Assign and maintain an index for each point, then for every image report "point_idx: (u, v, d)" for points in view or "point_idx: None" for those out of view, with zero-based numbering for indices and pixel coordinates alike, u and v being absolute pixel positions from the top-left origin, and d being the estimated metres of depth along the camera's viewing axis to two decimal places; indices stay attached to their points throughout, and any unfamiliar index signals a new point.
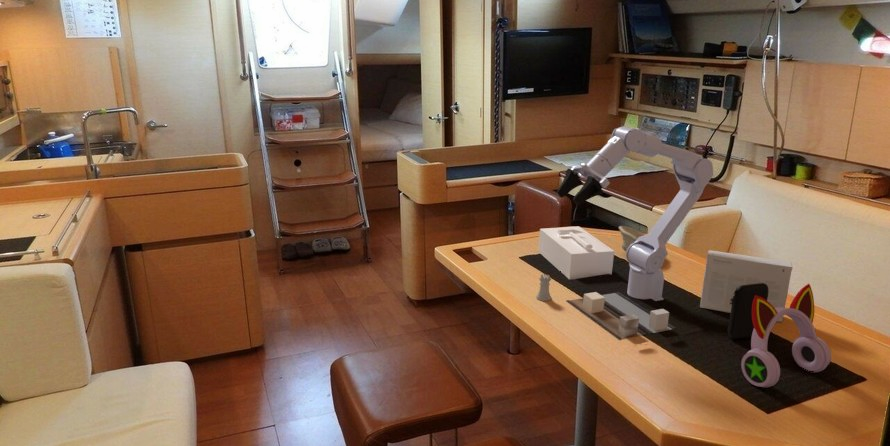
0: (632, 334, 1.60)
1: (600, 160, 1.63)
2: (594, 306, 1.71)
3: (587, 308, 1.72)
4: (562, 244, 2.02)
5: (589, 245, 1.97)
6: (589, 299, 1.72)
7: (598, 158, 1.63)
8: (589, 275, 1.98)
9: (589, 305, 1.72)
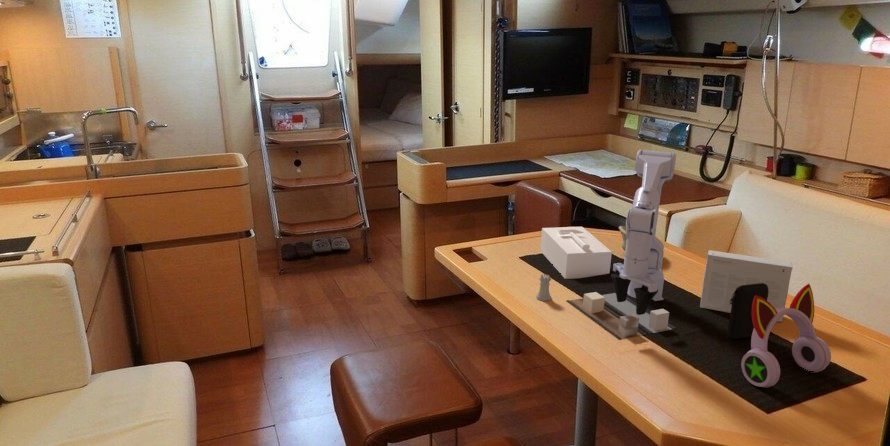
0: (632, 334, 1.60)
1: (633, 263, 1.52)
2: (594, 306, 1.71)
3: (587, 308, 1.72)
4: (560, 243, 2.03)
5: (586, 245, 1.97)
6: (589, 299, 1.72)
7: (630, 262, 1.53)
8: (586, 275, 1.98)
9: (589, 305, 1.72)
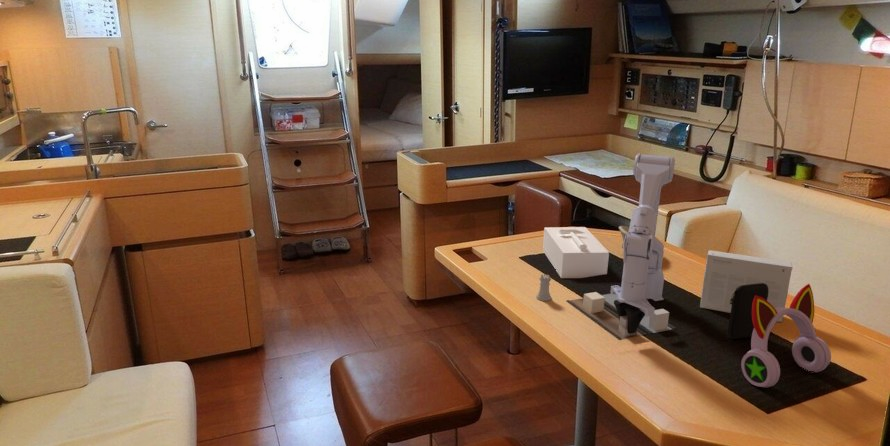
0: (632, 334, 1.60)
1: (630, 287, 1.54)
2: (594, 306, 1.71)
3: (587, 308, 1.72)
4: (559, 243, 2.03)
5: (583, 245, 1.97)
6: (589, 299, 1.72)
7: (627, 286, 1.55)
8: (582, 275, 1.98)
9: (589, 305, 1.72)
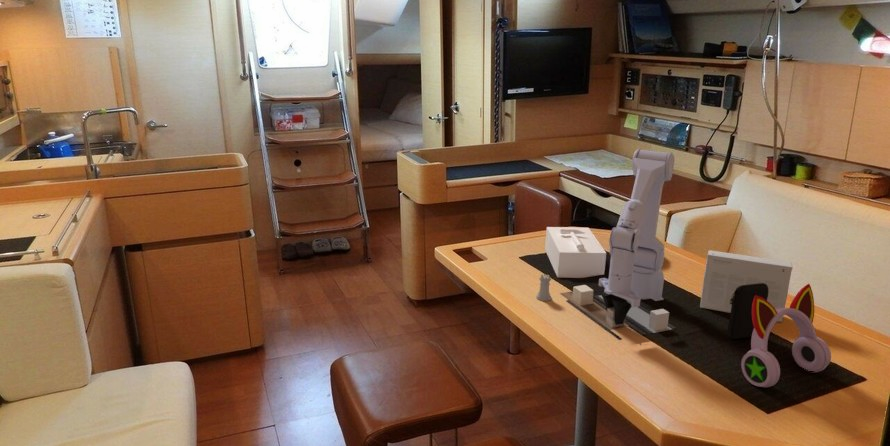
0: (619, 325, 1.64)
1: (617, 279, 1.59)
2: (583, 298, 1.76)
3: (577, 300, 1.77)
4: (557, 242, 2.04)
5: (580, 245, 1.97)
6: (578, 291, 1.76)
7: (614, 278, 1.59)
8: (579, 275, 1.98)
9: (578, 297, 1.76)
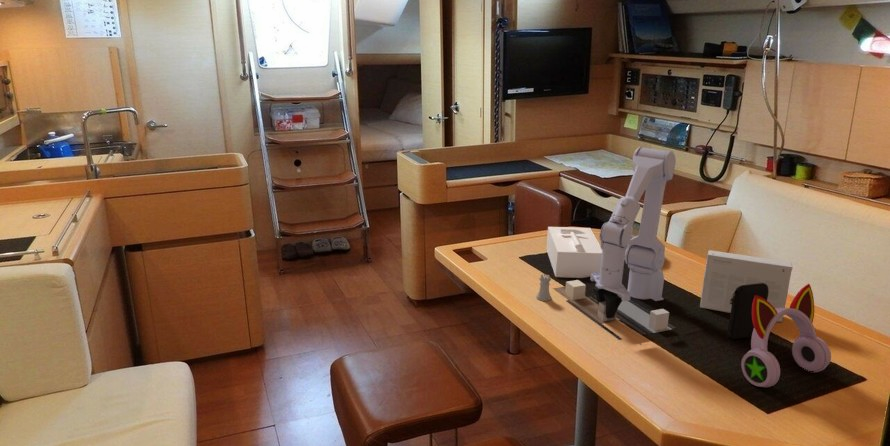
0: (610, 319, 1.68)
1: (608, 274, 1.62)
2: (575, 293, 1.79)
3: (569, 295, 1.80)
4: (557, 242, 2.04)
5: (579, 245, 1.97)
6: (570, 286, 1.79)
7: (605, 273, 1.62)
8: (577, 275, 1.98)
9: (570, 292, 1.80)
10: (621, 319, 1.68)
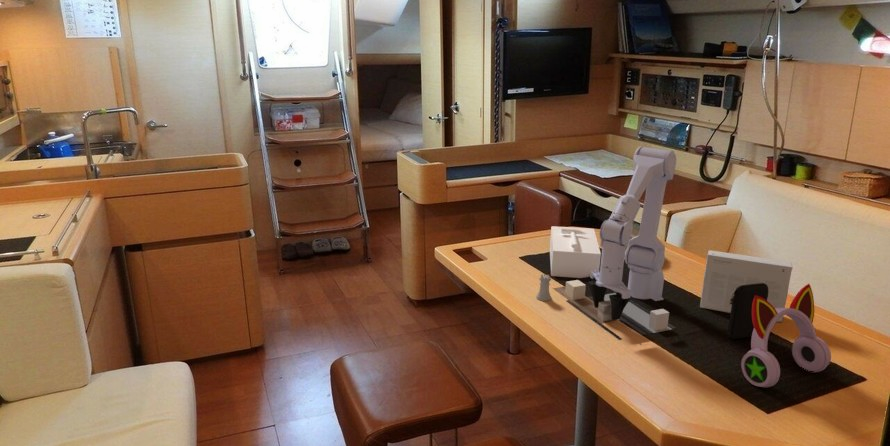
0: (610, 319, 1.68)
1: (608, 272, 1.62)
2: (575, 293, 1.79)
3: (569, 295, 1.80)
4: (555, 241, 2.05)
5: (575, 245, 1.97)
6: (570, 286, 1.79)
7: (605, 271, 1.62)
8: (573, 275, 1.98)
9: (570, 292, 1.80)
10: (621, 319, 1.68)
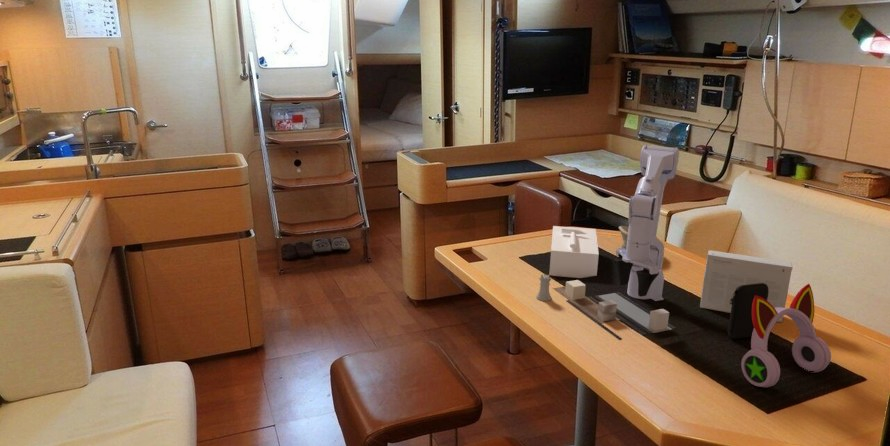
0: (610, 319, 1.68)
1: (635, 247, 1.60)
2: (575, 293, 1.79)
3: (569, 295, 1.80)
4: (554, 241, 2.05)
5: (573, 245, 1.97)
6: (570, 286, 1.79)
7: (632, 246, 1.61)
8: (571, 274, 1.98)
9: (570, 292, 1.80)
10: (621, 319, 1.68)
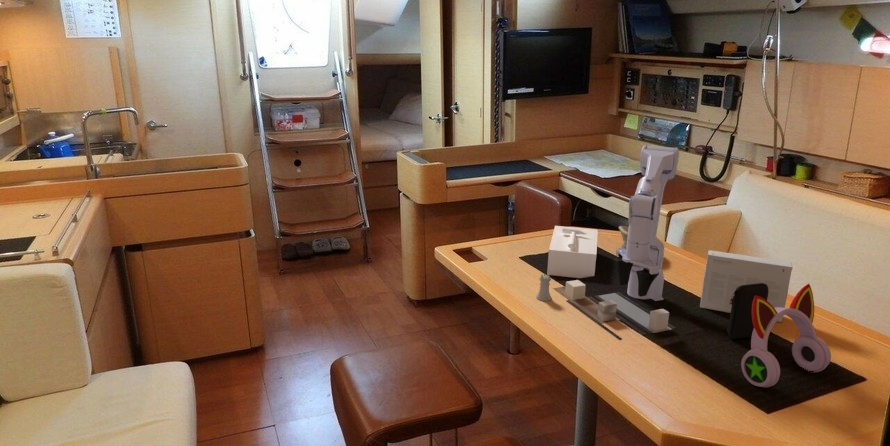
0: (610, 319, 1.68)
1: (635, 247, 1.60)
2: (575, 293, 1.79)
3: (569, 295, 1.80)
4: (554, 241, 2.05)
5: (572, 244, 1.97)
6: (570, 286, 1.79)
7: (632, 246, 1.61)
8: (568, 274, 1.98)
9: (570, 292, 1.80)
10: (621, 319, 1.68)
